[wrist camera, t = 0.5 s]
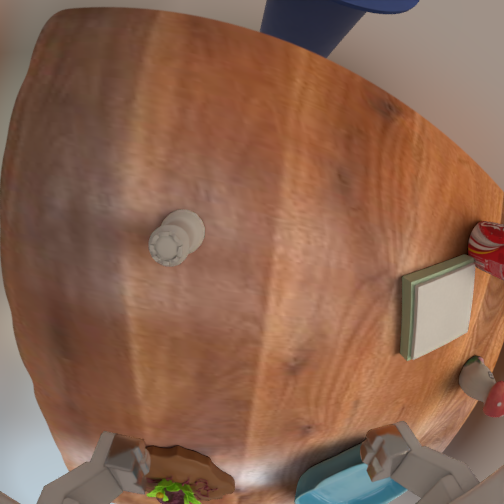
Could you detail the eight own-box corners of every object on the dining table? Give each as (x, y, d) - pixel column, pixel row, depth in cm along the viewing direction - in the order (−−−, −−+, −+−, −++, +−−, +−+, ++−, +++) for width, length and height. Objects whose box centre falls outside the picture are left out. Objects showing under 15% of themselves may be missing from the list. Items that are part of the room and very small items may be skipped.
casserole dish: (409, 470, 45) (419, 488, 38) (333, 507, 47) (339, 526, 40) (386, 411, 37) (403, 439, 30) (269, 467, 38) (274, 498, 31)
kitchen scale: (401, 276, 31) (414, 284, 28) (464, 253, 31) (477, 259, 28) (399, 354, 34) (409, 366, 31) (457, 327, 34) (468, 335, 31)
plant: (103, 450, 35) (88, 494, 24) (190, 438, 35) (185, 496, 24) (165, 497, 40) (160, 535, 29) (245, 486, 40) (249, 531, 29)
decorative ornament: (477, 375, 38) (518, 413, 24) (455, 394, 39) (494, 437, 24) (479, 346, 36) (528, 386, 21) (456, 367, 36) (503, 413, 22)
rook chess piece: (213, 238, 28) (207, 259, 20) (177, 260, 28) (158, 288, 20) (190, 200, 27) (174, 206, 19) (154, 223, 27) (126, 239, 19)
